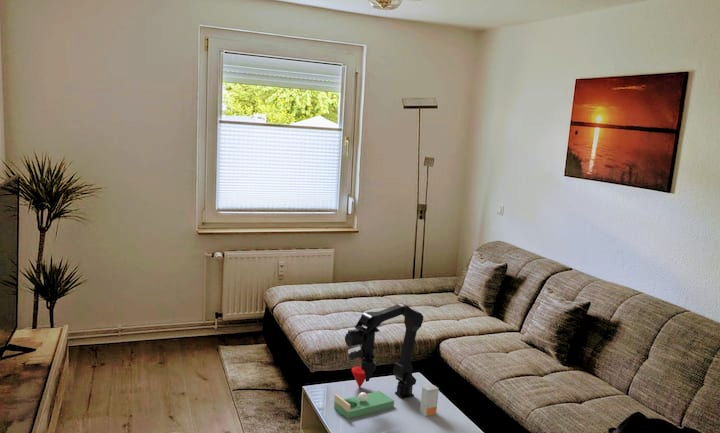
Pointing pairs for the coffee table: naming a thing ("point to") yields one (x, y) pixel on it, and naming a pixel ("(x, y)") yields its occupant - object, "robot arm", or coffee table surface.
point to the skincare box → (429, 400)
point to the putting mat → (362, 404)
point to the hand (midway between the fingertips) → (366, 376)
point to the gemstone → (358, 375)
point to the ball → (362, 397)
